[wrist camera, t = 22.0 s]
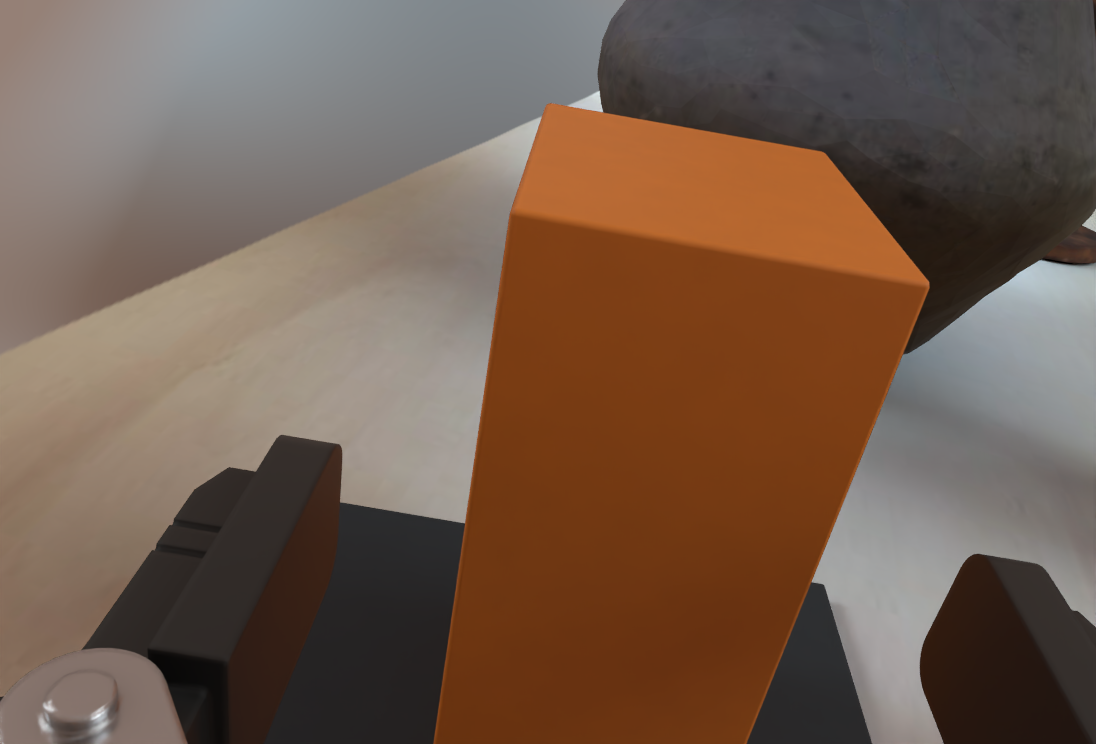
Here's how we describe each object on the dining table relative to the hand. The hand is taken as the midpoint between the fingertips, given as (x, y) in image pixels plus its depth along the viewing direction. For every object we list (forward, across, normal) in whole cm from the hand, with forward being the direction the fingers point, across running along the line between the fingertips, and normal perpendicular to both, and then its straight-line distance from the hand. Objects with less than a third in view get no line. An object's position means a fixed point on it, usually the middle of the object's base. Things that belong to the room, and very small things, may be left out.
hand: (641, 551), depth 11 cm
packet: (+4, 0, +8) cm, 9 cm away
